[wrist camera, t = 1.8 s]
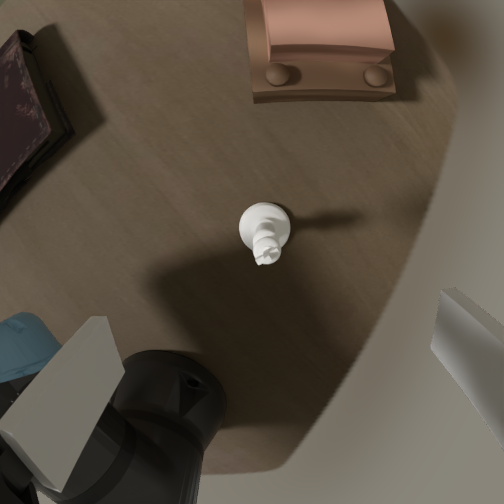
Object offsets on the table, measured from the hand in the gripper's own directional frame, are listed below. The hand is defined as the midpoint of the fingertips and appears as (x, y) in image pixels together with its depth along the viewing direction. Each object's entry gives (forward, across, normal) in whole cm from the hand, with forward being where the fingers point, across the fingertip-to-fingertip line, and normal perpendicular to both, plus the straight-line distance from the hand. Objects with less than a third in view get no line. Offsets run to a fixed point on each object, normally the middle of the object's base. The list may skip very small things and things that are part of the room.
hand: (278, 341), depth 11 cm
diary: (+20, +34, -15) cm, 43 cm away
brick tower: (+20, -6, -20) cm, 29 cm away
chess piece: (+20, 0, 0) cm, 20 cm away
